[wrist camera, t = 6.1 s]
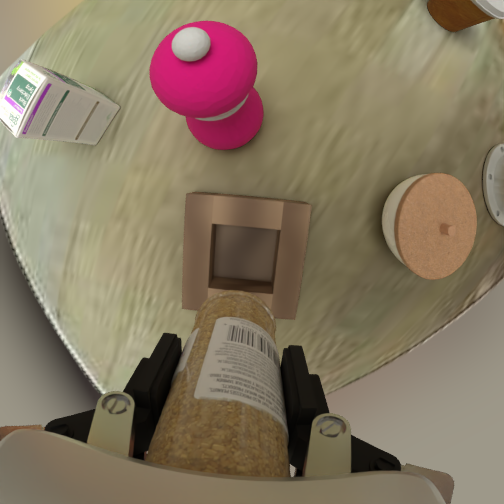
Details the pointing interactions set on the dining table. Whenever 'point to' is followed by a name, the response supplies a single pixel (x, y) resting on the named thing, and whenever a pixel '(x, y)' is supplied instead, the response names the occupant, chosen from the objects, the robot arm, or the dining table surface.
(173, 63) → the pepper mill
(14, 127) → the syrup box
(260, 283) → the socket block
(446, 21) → the disposable coffee cup
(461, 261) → the lidded jar
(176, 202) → the dining table surface
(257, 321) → the sprinkles bottle
